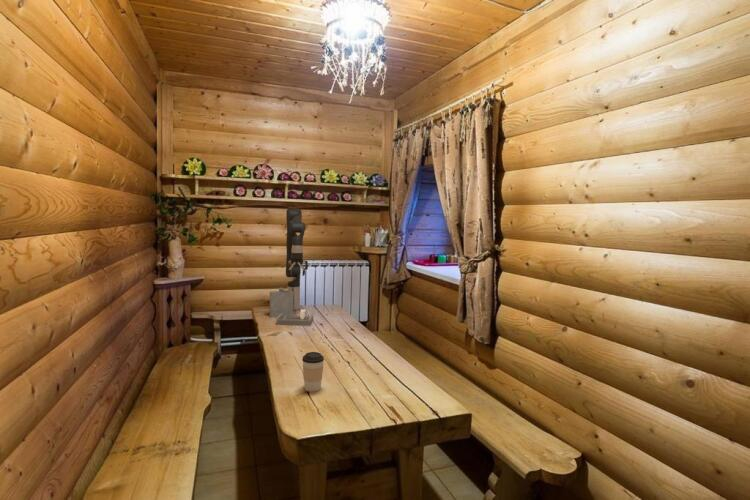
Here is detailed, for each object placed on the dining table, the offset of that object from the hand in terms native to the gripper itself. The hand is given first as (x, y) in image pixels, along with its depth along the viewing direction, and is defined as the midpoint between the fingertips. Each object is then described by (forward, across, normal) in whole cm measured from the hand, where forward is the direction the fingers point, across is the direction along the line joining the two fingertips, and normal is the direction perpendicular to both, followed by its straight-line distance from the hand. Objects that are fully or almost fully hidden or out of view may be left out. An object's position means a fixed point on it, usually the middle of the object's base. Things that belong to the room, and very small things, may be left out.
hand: (296, 275), depth 281 cm
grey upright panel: (+30, +12, -7) cm, 33 cm away
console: (+30, -1, +9) cm, 31 cm away
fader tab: (+27, -6, +9) cm, 29 cm away
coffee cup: (+30, -28, +109) cm, 117 cm away
